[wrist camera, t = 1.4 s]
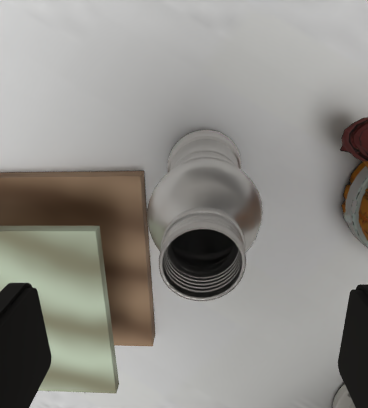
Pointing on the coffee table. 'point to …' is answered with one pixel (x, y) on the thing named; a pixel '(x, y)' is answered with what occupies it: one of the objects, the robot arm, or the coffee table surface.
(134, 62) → the coffee table surface
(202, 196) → the plastic bottle
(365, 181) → the mug
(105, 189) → the walnut stand
